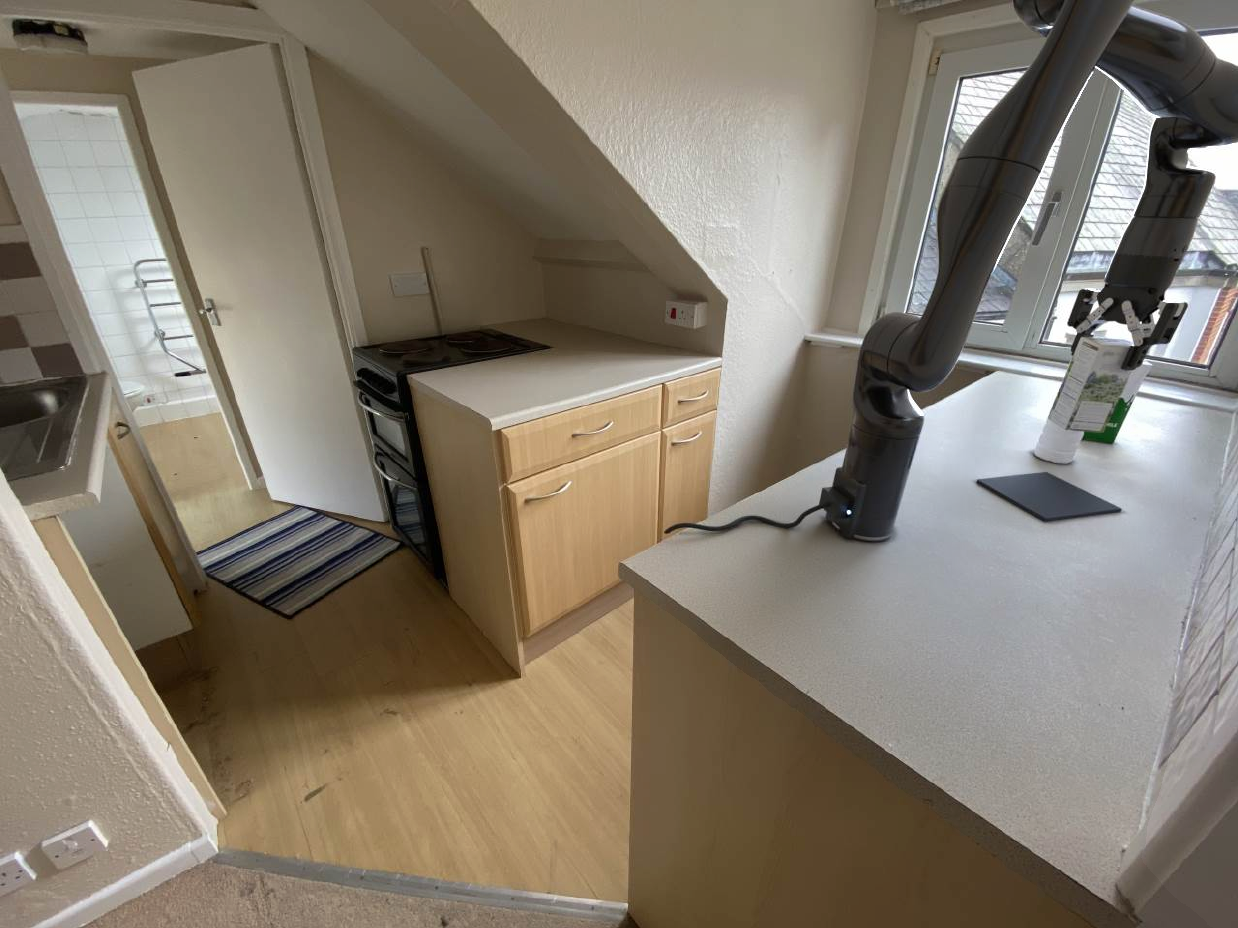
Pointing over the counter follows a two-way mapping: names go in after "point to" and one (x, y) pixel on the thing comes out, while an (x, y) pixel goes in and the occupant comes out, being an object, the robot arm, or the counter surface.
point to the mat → (1048, 496)
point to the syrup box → (1091, 385)
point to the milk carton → (1121, 406)
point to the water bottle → (1059, 436)
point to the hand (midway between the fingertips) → (1101, 362)
